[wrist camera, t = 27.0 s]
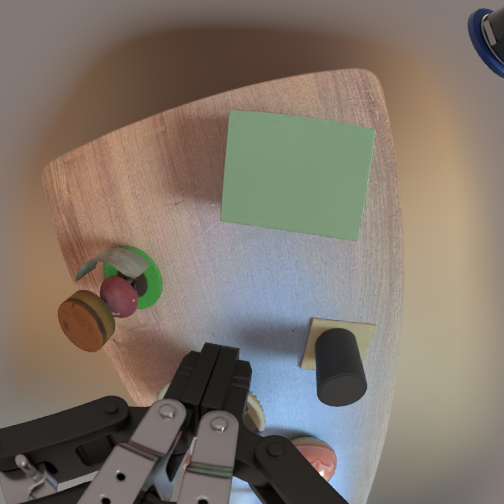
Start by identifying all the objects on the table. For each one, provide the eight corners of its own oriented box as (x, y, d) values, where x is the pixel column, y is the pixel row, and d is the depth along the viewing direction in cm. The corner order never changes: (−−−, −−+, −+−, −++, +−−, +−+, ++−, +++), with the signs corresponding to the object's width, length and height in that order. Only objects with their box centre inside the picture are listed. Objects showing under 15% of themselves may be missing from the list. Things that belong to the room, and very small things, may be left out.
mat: (375, 324, 41) (376, 325, 40) (357, 371, 44) (357, 373, 44) (313, 317, 42) (313, 319, 41) (300, 366, 45) (300, 368, 45)
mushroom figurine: (182, 301, 44) (140, 364, 30) (122, 313, 47) (75, 366, 33) (151, 230, 40) (90, 272, 26) (93, 252, 43) (32, 292, 29)
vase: (348, 438, 51) (353, 505, 35) (307, 461, 56) (304, 521, 40) (301, 419, 50) (297, 495, 34) (261, 445, 55) (251, 510, 39)
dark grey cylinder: (361, 329, 41) (374, 375, 32) (349, 362, 43) (357, 407, 34) (319, 325, 41) (324, 371, 32) (310, 358, 44) (311, 405, 34)
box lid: (373, 129, 25) (375, 129, 25) (356, 239, 29) (357, 241, 29) (231, 110, 27) (229, 109, 26) (222, 219, 31) (219, 221, 30)
